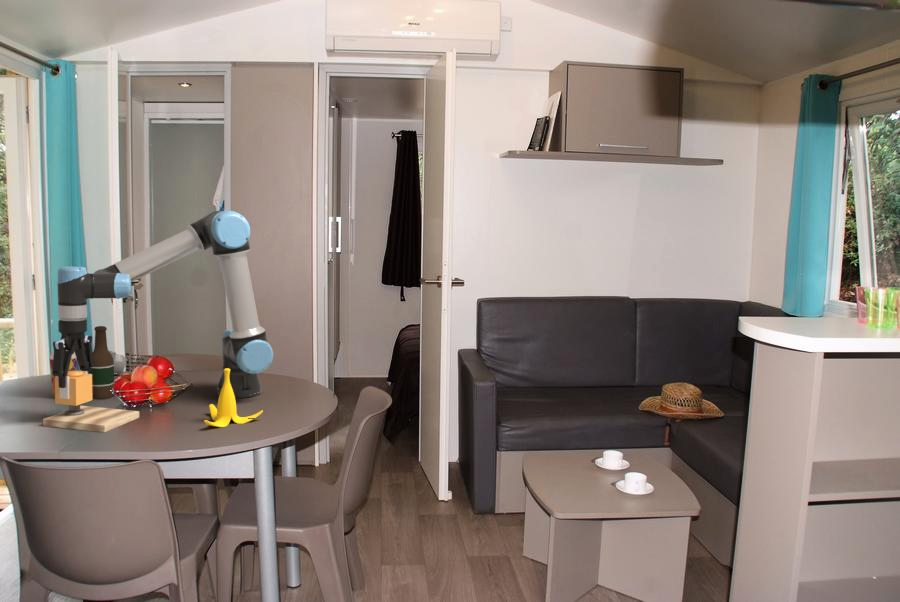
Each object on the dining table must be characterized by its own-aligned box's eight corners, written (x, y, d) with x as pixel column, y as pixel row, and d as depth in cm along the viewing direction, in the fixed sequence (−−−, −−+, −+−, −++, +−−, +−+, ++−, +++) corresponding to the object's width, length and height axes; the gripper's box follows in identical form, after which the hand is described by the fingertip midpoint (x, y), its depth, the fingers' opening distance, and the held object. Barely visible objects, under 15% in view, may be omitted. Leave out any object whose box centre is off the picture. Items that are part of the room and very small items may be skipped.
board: (139, 417, 218) (139, 388, 217) (104, 432, 203) (104, 401, 202) (81, 411, 222) (81, 383, 221) (43, 425, 206) (42, 395, 205)
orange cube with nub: (92, 400, 216) (92, 370, 215) (76, 405, 209) (75, 375, 208) (72, 398, 217) (71, 369, 216) (55, 403, 210) (54, 373, 209)
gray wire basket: (86, 378, 267) (85, 352, 266) (103, 372, 278) (103, 347, 277) (154, 382, 265) (154, 356, 263) (169, 376, 276) (168, 350, 275)
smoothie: (77, 399, 237) (75, 339, 235) (48, 400, 234) (46, 340, 231) (79, 393, 244) (78, 335, 242) (52, 394, 241) (50, 336, 239)
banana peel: (211, 414, 226) (211, 362, 224) (264, 421, 221) (265, 367, 219) (177, 427, 210) (177, 372, 208) (234, 435, 205) (234, 378, 203)
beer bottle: (90, 394, 243) (88, 325, 240) (115, 393, 246) (114, 324, 243) (87, 400, 236) (86, 328, 233) (113, 399, 239) (112, 328, 236)
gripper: (84, 314, 221) (85, 386, 223) (36, 322, 201) (37, 402, 204) (106, 315, 219) (107, 388, 222) (59, 324, 200) (60, 404, 202)
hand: (74, 395), depth 213 cm, fingers closed on orange cube with nub, 7 cm apart
